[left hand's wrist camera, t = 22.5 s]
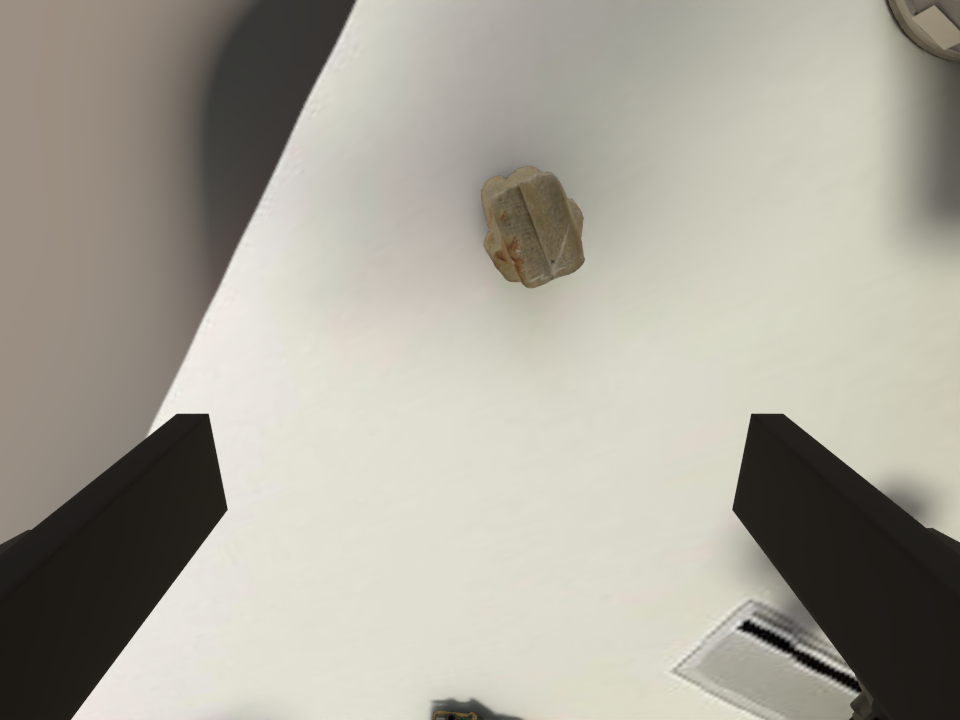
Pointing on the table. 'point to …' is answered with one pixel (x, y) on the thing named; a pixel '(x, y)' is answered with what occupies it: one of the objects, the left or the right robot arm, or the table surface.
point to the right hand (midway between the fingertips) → (872, 599)
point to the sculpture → (532, 227)
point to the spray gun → (454, 715)
